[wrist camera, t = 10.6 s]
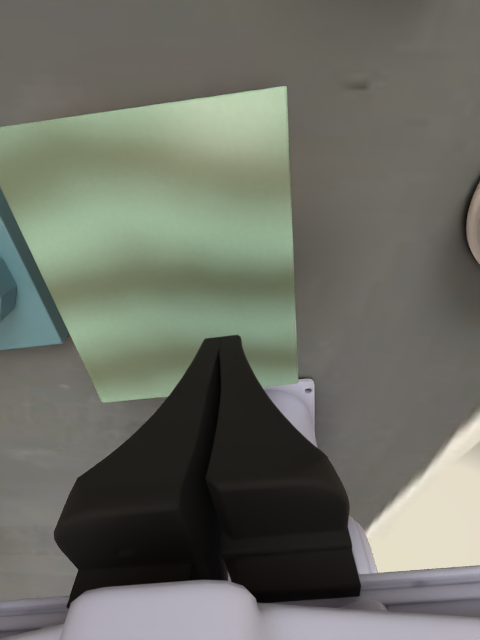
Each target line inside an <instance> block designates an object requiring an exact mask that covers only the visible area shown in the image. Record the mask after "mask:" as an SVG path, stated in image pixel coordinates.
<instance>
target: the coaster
mask: <svg viewBox="0 0 480 640" xmlns="http://www.w3.org/2000/svg"><path fill="white" fill-rule="evenodd" d="M466 233H467V240H468V244H469V247H470V250H471V252H472V254H473V256H474V257H475V259H476V260H477V262H478V263H479V264H480V182H479V184H478V186H477V188H476V190H475V192H474V195H473V197H472V200H471V203H470V206H469V210H468V215H467V224H466Z"/></svg>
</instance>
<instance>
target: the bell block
mask: <svg viewBox="0 0 480 640" xmlns="http://www.w3.org/2000/svg"><path fill="white" fill-rule="evenodd" d="M68 335H69V332H68V330H67V328H66V325H65V323H64V321H63V319H62V317H61V315H60V313H59V311H58V308H57V306H56V304H55V302H54V300H53V298H52V296H51V294H50V291H49V289H48V287H47V285H46V283H45V281H44V279H43V277H42V275H41V272H40V270H39V268H38V266H37V264H36V262H35V260H34V258H33V255H32V253H31V251H30V249H29V247H28V245H27V243H26V241H25V238H24V236H23V234H22V232H21V230H20V228H19V226H18V224H17V221H16V219H15V217H14V215H13V213H12V211H11V209H10V207H9V205H8V202H7V200H6V198H5V196H4V194H3V192H2V190H1V188H0V350H7V349H16V348H26V347H35V346H44V345H53V344H62V343H63V342H64V341H65V339H66V338H67V337H68Z"/></svg>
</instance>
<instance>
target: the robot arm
mask: <svg viewBox="0 0 480 640" xmlns="http://www.w3.org/2000/svg"><path fill="white" fill-rule="evenodd" d="M306 389H309V390H306ZM349 508H350V506H349V500H348V496H347V494H346V491H345V489H344V486H343V484H342V482H341V480H340V478H339V476H338V474H337V473H336V471H335V469H334V467H333V466H332V464H331V462H330V461H329V459H328V457H327V456H326V455H325V454H324V453H323V452H322V451H321V450H319V449H318V447H317V443H316V438H315V405H314V382H313V380H312V379H298V384H290V385H280V386H270V387H262V386H261V384H260V383H259V381H258V379H257V378H256V376H255V374H254V372H253V371H252V369H251V367H250V365H249V363H248V360H247V358H246V356H245V353H244V350H243V347H242V340H241V337H240V336H239V335H231V336H222V337H214V338H205V339H204V341H203V342H202V344H201V346H200V348H199V350H198V352H197V354H196V355H195V357H194V359H193V361H192V362H191V364H190V366H189V367H188V369H187V370H186V372H185V374H184V375H183V377H182V378H181V380H180V381H179V383H178V384H177V385H176V387H175V388H174V390H173V391H172V392H171V394H170V395H169V396H168V398H167V399H166V400H165V401H164V403H163V404H162V405H161V406H160V407H159V409H158V410H157V411H156V412H155V413H154V414H153V415H152V416H151V417H150V419H149V420H148V421H147V422H146V423H145V424H144V425H143V426H142V427H141V428H140V429H139V430H138V431H137V432H136V433H135V434H133V435H132V436H131V437H130V438H129V439H128V440H127V441H126V442H124V443H123V444H122V445H121V446H120V447H119V448H117V449H116V450H115V451H114V452H112V453H111V454H110V455H109V456H107V457H106V458H105V459H103V460H102V461H101V462H99V463H98V464H97V465H95V466H94V467H93V468H91V469H90V470H88V471H87V472H86V473H84V474H83V475H81V476H80V477H78V478H77V480H76V482H75V484H74V486H73V488H72V490H71V492H70V494H69V497H68V499H67V501H66V504H65V506H64V508H63V511H62V513H61V516H60V518H59V521H58V523H57V526H56V528H55V531H54V539H55V541H56V543H57V545H58V546H59V548H60V549H61V551H62V552H63V553H64V554H65V555H66V556H67V557H68V558H69V560H70V561H71V562H72V563H73V564H74V565H75V566H76V567H77V569H78V573H77V576H76V579H75V582H74V585H73V588H72V591H71V594H70V596H61V597H48V598H34V599H21V600H8V601H0V640H480V565H479V566H465V567H451V568H438V569H424V570H411V571H399V572H385V573H378V571H377V567H376V564H375V561H374V557H373V554H372V551H371V548H370V545H369V542H368V539H367V537H366V534H365V532H364V530H363V528H362V526H361V525H360V524H358V523H357V522H356V521H355V520H353V518H352V517H351V516H350V515H349Z"/></svg>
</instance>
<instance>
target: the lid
mask: <svg viewBox="0 0 480 640" xmlns="http://www.w3.org/2000/svg"><path fill="white" fill-rule="evenodd" d="M0 188H1V190H2V192H3V194H4V196H5V198H6V200H7V202H8V205H9V207H10V209H11V211H12V213H13V215H14V217H15V219H16V221H17V224H18V226H19V228H20V230H21V232H22V234H23V236H24V238H25V241H26V243H27V245H28V247H29V249H30V251H31V253H32V255H33V258H34V260H35V262H36V264H37V266H38V268H39V270H40V272H41V275H42V277H43V279H44V281H45V283H46V285H47V287H48V289H49V291H50V294H51V296H52V298H53V300H54V302H55V304H56V306H57V308H58V311H59V313H60V315H61V317H62V319H63V321H64V323H65V325H66V328H67V330H68V332H69V334H70V336H71V338H72V340H73V342H74V344H75V347H76V349H77V351H78V353H79V355H80V357H81V359H82V361H83V364H84V366H85V368H86V370H87V372H88V374H89V376H90V378H91V381H92V383H93V385H94V387H95V389H96V391H97V393H98V395H99V398H100V400H101V402H102V403H107V402H117V401H127V400H137V399H147V398H158V397H168V396H169V395H170V394H171V392H172V391H173V390H174V388H175V387H176V385H177V384H178V383H179V381H180V380H181V378H182V377H183V375H184V374H185V372H186V370H187V369H188V367H189V366H190V364H191V362H192V361H193V359H194V357H195V355H196V354H197V352H198V350H199V348H200V346H201V344H202V342H203V341H204V339H205V338H214V337H222V336H231V335H239V336H240V337H241V340H242V347H243V350H244V353H245V356H246V358H247V360H248V363H249V365H250V367H251V369H252V371H253V372H254V374H255V376H256V378H257V379H258V381H259V383H260V384H261V386H262V387H270V386H280V385H290V384H298V358H297V332H296V307H295V281H294V256H293V230H292V204H291V179H290V153H289V127H288V102H287V87H286V86H281V87H274V88H267V89H260V90H253V91H246V92H239V93H232V94H225V95H218V96H211V97H204V98H197V99H191V100H184V101H177V102H170V103H163V104H156V105H149V106H142V107H135V108H128V109H121V110H114V111H107V112H100V113H94V114H87V115H80V116H73V117H66V118H59V119H52V120H45V121H38V122H31V123H24V124H17V125H10V126H3V127H0Z"/></svg>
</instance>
